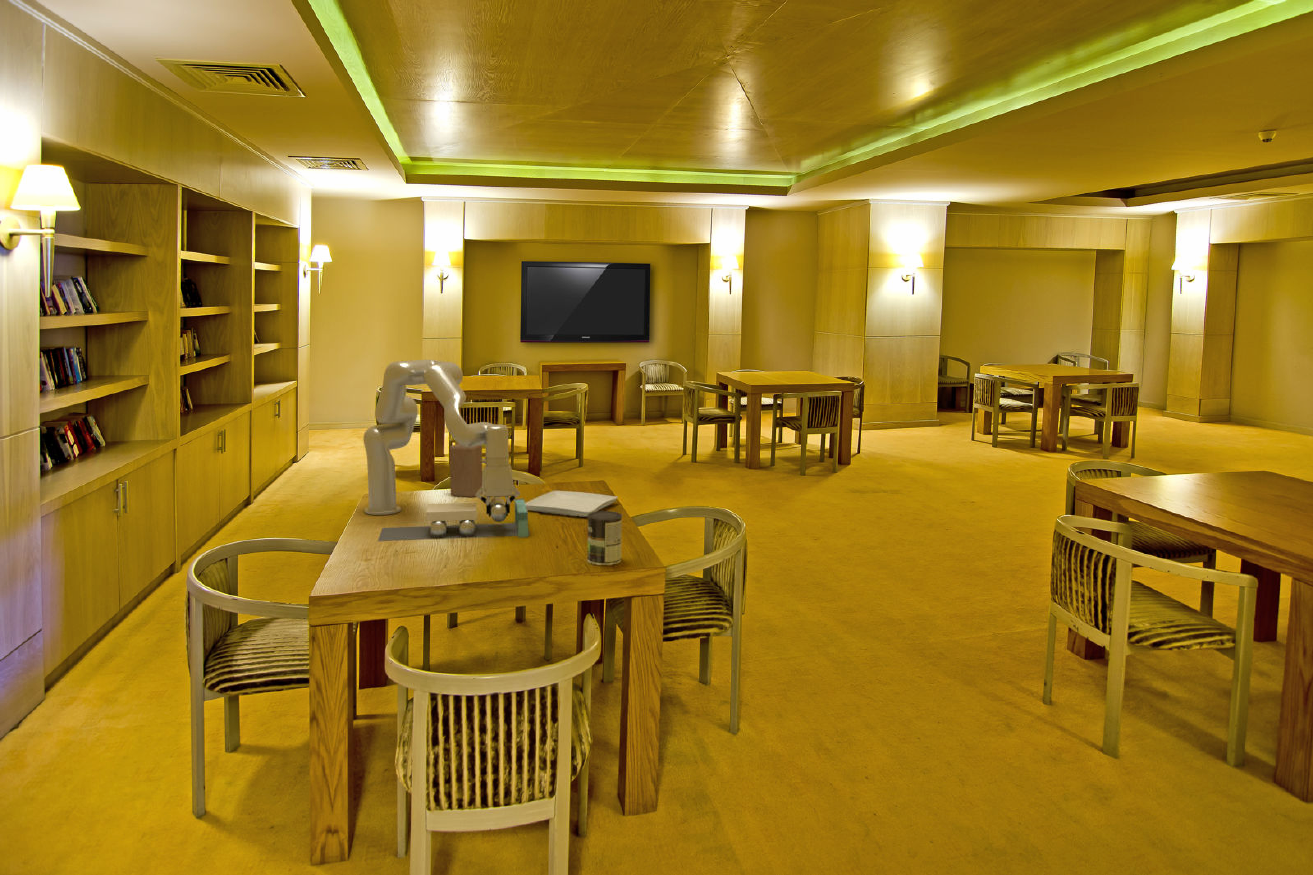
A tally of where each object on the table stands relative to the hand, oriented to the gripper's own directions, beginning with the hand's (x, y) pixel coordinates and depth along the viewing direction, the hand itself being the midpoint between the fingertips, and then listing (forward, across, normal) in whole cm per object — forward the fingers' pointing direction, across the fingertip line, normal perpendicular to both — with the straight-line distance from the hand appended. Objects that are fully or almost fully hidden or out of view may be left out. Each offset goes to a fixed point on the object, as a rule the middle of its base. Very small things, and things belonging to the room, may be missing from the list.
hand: (498, 515), depth 309 cm
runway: (+6, -14, 0) cm, 15 cm away
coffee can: (+6, +30, -40) cm, 50 cm away
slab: (0, -15, 0) cm, 15 cm away
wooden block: (+6, -10, +60) cm, 61 cm away
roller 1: (+5, -20, 0) cm, 21 cm away
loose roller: (0, 0, 0) cm, 0 cm away
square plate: (+6, +28, +30) cm, 42 cm away
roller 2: (+5, -10, 0) cm, 11 cm away
